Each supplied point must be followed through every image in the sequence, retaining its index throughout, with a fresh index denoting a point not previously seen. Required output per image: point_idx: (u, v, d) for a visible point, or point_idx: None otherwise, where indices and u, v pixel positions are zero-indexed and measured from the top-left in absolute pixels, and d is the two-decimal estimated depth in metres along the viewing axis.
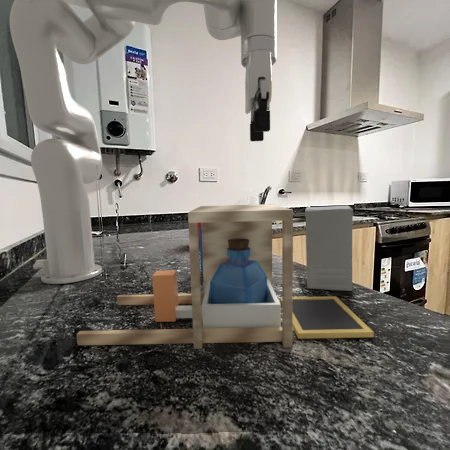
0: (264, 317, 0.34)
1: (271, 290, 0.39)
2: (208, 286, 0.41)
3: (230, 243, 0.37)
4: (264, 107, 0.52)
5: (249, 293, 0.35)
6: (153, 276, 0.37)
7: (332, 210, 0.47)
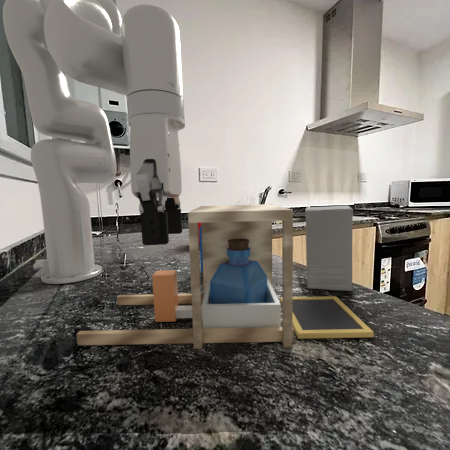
0: (264, 317, 0.34)
1: (271, 290, 0.39)
2: (208, 286, 0.41)
3: (230, 243, 0.37)
4: (153, 210, 0.31)
5: (249, 293, 0.35)
6: (153, 276, 0.37)
7: (332, 210, 0.47)
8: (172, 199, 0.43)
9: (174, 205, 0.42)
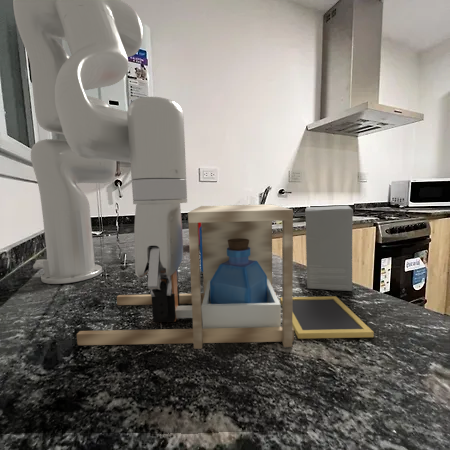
0: (264, 317, 0.34)
1: (271, 290, 0.39)
2: (208, 286, 0.41)
3: (230, 243, 0.37)
4: (163, 295, 0.36)
5: (249, 293, 0.35)
6: None
7: (332, 210, 0.47)
8: None
9: None
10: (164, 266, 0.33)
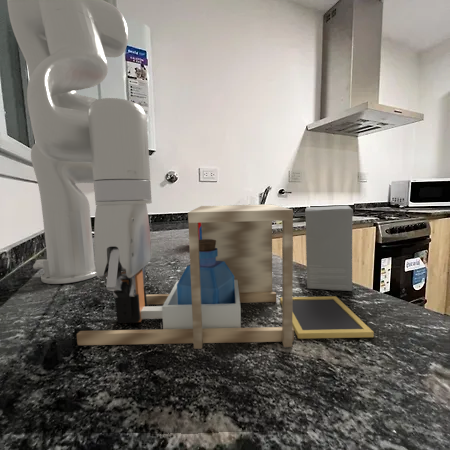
0: (224, 318, 0.34)
1: (236, 291, 0.39)
2: (175, 287, 0.41)
3: None
4: (125, 296, 0.36)
5: (217, 294, 0.35)
6: None
7: (332, 210, 0.47)
8: None
9: None
10: (124, 267, 0.33)
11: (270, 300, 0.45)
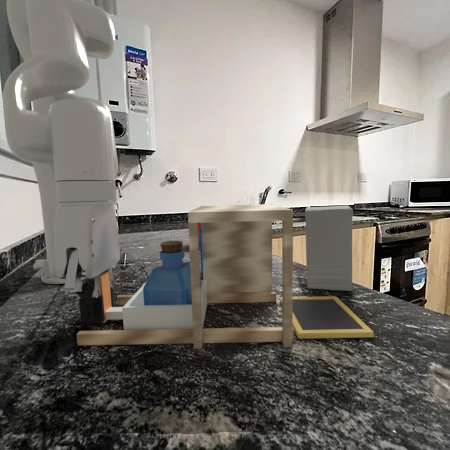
0: (185, 318, 0.34)
1: (201, 291, 0.39)
2: (142, 287, 0.41)
3: (163, 246, 0.36)
4: (88, 297, 0.36)
5: (186, 295, 0.35)
6: None
7: (332, 210, 0.47)
8: None
9: None
10: (83, 268, 0.33)
11: (270, 300, 0.45)
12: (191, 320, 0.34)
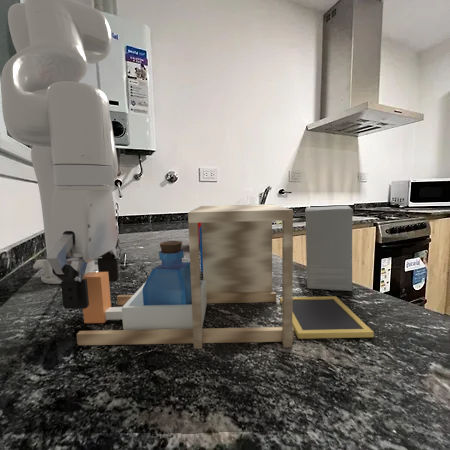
0: (184, 318, 0.34)
1: None
2: (142, 287, 0.41)
3: (163, 246, 0.36)
4: (70, 280, 0.33)
5: (186, 295, 0.35)
6: None
7: (332, 210, 0.47)
8: None
9: (110, 255, 0.44)
10: (80, 251, 0.34)
11: (270, 300, 0.45)
12: (190, 320, 0.34)
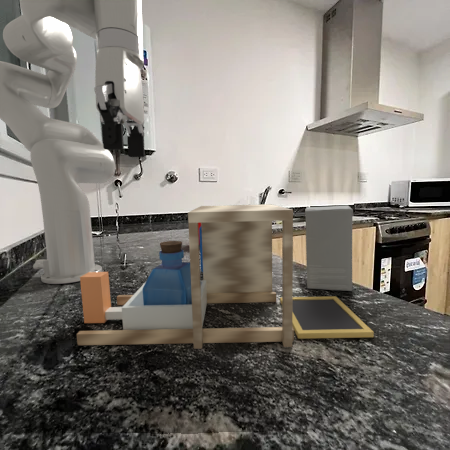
0: (184, 318, 0.34)
1: None
2: (142, 287, 0.41)
3: (163, 246, 0.36)
4: (110, 120, 0.41)
5: (186, 295, 0.35)
6: (81, 278, 0.38)
7: (332, 210, 0.47)
8: (137, 129, 0.52)
9: (138, 133, 0.52)
10: (118, 99, 0.42)
11: (270, 300, 0.45)
12: (190, 320, 0.34)
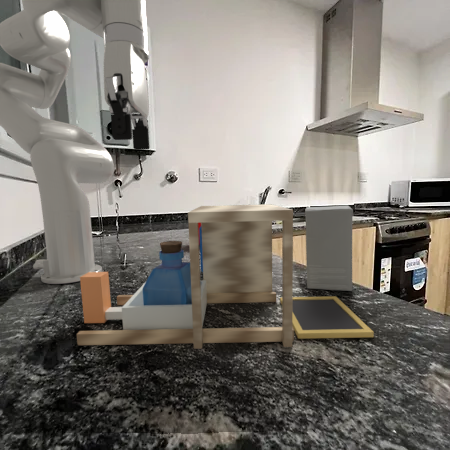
0: (184, 318, 0.34)
1: None
2: (142, 287, 0.41)
3: (163, 246, 0.36)
4: (119, 110, 0.42)
5: (186, 295, 0.35)
6: (81, 278, 0.38)
7: (332, 210, 0.47)
8: (142, 122, 0.54)
9: (143, 126, 0.53)
10: (126, 90, 0.43)
11: (270, 300, 0.45)
12: (190, 320, 0.34)
